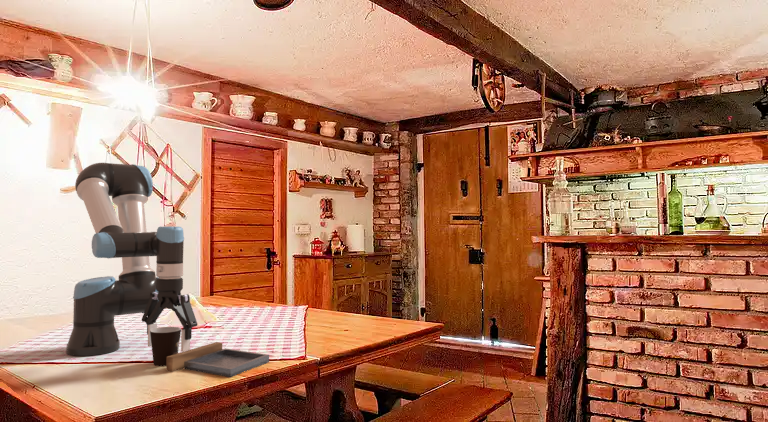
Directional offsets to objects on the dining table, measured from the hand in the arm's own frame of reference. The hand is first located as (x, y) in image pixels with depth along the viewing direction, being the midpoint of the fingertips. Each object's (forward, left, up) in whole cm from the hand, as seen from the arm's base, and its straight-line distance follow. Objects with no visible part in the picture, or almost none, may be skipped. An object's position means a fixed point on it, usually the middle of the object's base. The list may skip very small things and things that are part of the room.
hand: (168, 348), depth 158 cm
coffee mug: (0, 0, -4) cm, 4 cm away
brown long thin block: (+8, +3, -4) cm, 9 cm away
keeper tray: (+18, +5, -4) cm, 20 cm away
